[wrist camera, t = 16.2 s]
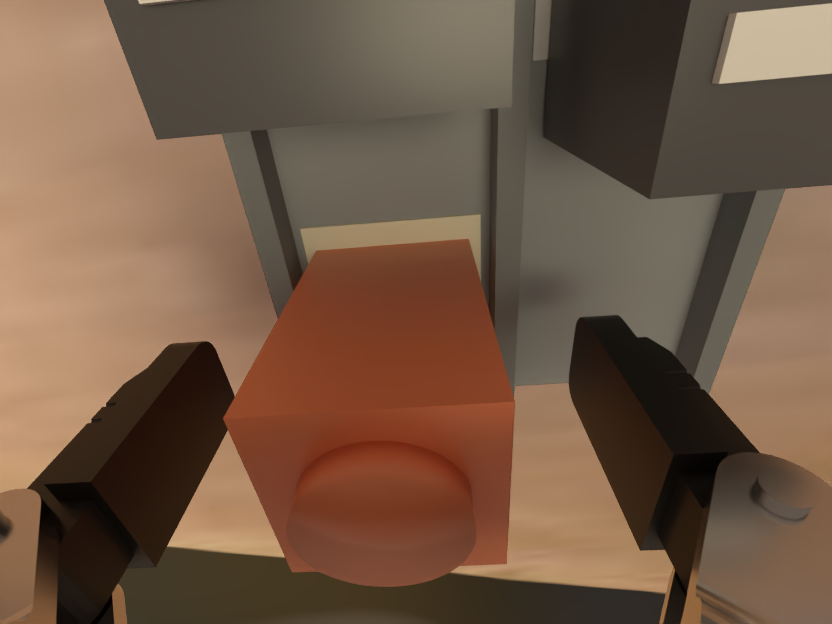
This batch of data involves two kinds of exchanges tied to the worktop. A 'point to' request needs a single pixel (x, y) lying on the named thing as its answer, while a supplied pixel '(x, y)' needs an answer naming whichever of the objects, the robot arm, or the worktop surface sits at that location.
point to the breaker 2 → (694, 92)
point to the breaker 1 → (312, 60)
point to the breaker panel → (510, 221)
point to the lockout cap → (382, 417)
